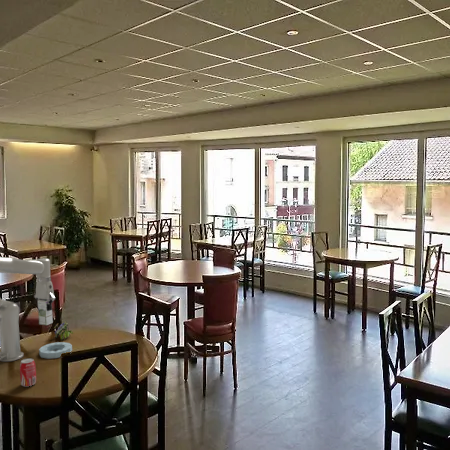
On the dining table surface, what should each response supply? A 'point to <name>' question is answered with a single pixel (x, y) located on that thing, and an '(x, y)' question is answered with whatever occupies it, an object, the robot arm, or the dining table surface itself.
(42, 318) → the syrup box
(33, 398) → the dining table surface
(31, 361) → the soda can
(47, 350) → the pale blue ring
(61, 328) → the passion flower
